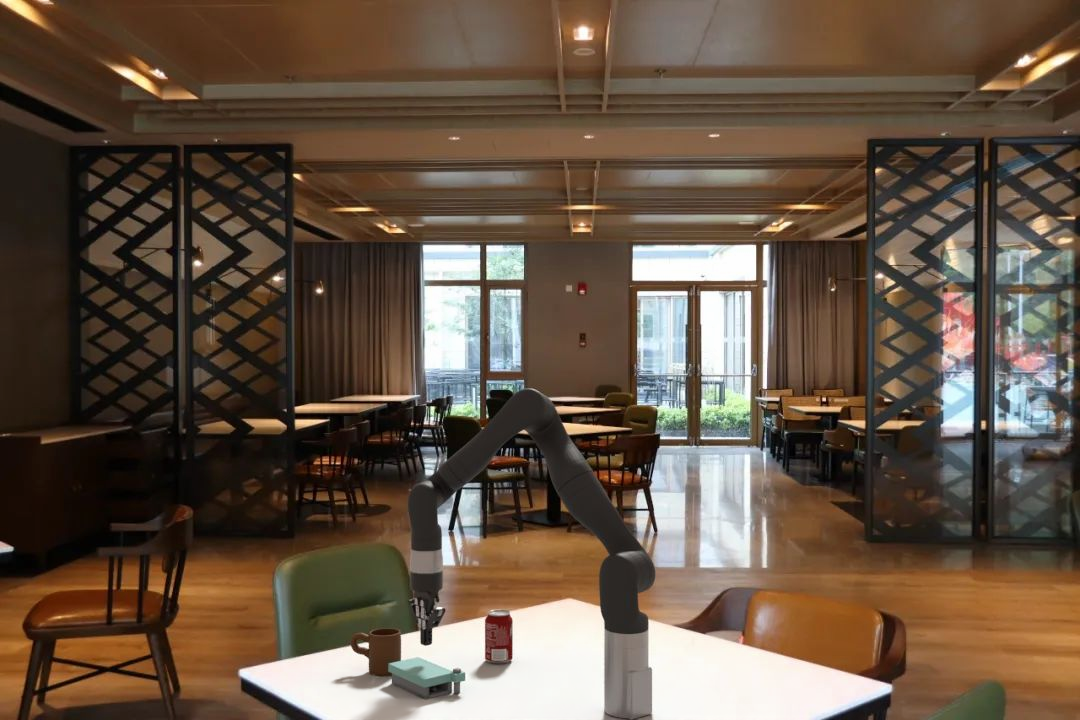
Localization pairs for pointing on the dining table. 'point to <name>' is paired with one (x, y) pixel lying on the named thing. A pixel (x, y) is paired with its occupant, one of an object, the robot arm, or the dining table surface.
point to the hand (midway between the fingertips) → (426, 644)
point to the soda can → (498, 637)
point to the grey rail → (427, 691)
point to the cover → (425, 672)
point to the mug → (379, 649)
